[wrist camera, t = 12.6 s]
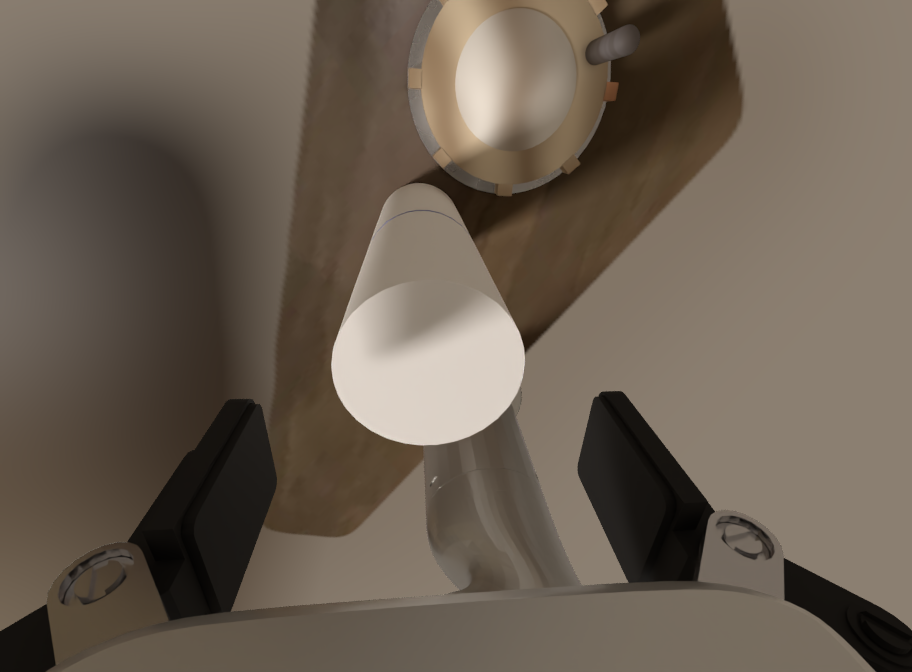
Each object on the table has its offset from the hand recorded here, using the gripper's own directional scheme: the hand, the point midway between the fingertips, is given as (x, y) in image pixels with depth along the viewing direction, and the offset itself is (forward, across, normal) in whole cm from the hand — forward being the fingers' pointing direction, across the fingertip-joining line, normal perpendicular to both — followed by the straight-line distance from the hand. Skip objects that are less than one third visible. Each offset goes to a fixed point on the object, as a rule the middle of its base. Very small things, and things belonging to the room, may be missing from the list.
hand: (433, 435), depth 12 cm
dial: (+28, -7, -11) cm, 30 cm away
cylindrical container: (+29, 0, 0) cm, 29 cm away
